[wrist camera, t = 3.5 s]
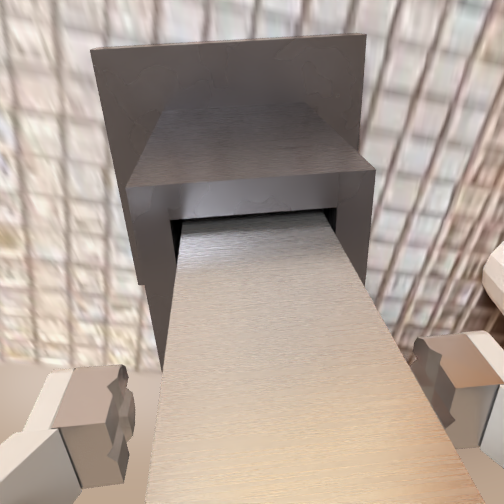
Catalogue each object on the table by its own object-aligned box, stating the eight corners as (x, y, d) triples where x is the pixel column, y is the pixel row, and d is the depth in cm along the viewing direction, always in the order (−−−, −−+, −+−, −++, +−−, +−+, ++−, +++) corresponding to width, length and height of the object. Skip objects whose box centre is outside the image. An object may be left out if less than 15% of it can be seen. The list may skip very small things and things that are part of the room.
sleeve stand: (356, 33, 20) (512, 54, 10) (342, 254, 26) (431, 418, 16) (97, 47, 20) (-32, 86, 9) (142, 271, 26) (93, 452, 15)
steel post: (279, 132, 21) (501, 519, 5) (280, 211, 23) (440, 669, 7) (192, 138, 20) (131, 562, 5) (201, 217, 22) (179, 703, 7)
